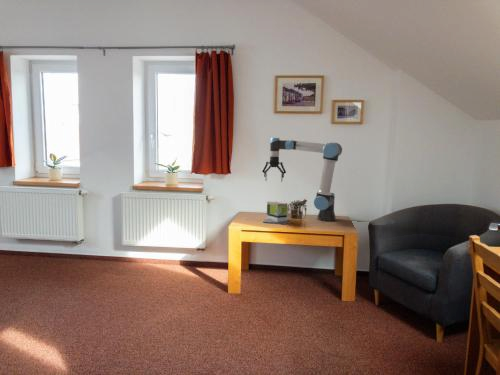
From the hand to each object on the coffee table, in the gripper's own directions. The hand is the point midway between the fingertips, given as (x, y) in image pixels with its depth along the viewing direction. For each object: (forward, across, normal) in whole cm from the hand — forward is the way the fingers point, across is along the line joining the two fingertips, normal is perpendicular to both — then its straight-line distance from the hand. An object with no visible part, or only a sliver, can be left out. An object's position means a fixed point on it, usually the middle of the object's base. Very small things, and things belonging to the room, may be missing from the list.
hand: (273, 181), depth 339 cm
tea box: (+30, -7, +18) cm, 36 cm away
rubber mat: (+31, -7, +18) cm, 36 cm away
